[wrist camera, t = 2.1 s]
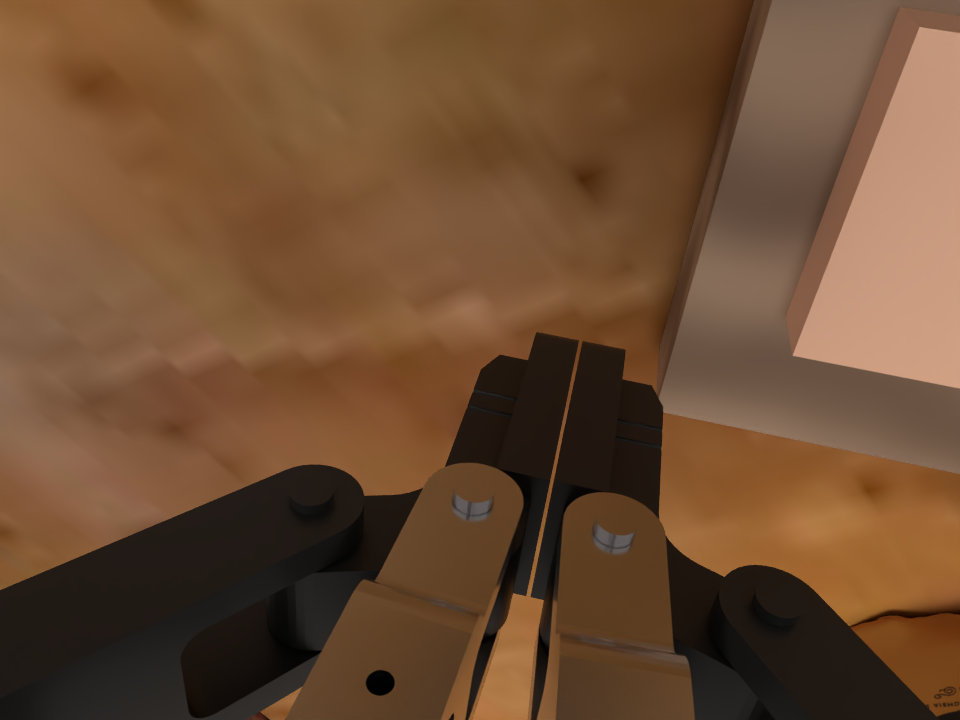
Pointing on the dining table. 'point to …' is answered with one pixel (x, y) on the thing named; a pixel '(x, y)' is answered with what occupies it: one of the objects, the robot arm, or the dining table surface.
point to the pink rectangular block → (893, 220)
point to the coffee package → (921, 656)
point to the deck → (789, 246)
